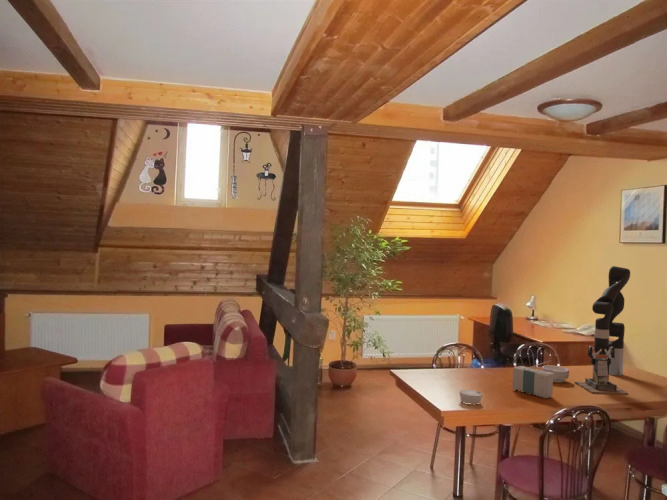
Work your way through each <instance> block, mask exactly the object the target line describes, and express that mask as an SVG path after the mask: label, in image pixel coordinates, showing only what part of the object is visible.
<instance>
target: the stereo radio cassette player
mask: <svg viewBox="0 0 667 500" xmlns="http://www.w3.org/2000/svg"><path fill="white" fill-rule="evenodd" d="M549 362H552V360H551V359H550V360H549V361H545V362H541V363H539V364H535V365H532V366H529V367H528V366H523V365H519V366H514V367H513V368H512V389H513V390H514V389H515V390H519V391H518V392H520V391H523V392H522V393H524V392H526V393H525V394H527V393H530V394H529V395H531V394H533V395H532V396H534V395H536V396H535V397H538V396H539V398H542V397H543V398H542V399H544V398H546V399H549V398H552V397H553V391H554V388H553V387H554V386H553V385H554V382H553V376H554V374H553V373H550V372H546V371H542V369H537V368H534V367H537V366H540V365H543V364H546V363H549ZM515 390H514V391H515Z"/></svg>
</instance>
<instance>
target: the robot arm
mask: <svg viewBox="0 0 667 500" xmlns="http://www.w3.org/2000/svg"><path fill="white" fill-rule="evenodd" d="M630 278H631V270H630V269H628V268H625V267H622V266H621V267H620V266H611V267H610V268H609V270H608V286H607V287H606V288H605V290H604V291H603V293H602V294H601V296H599V298H598V299H596V300H595V301H594V303H592V307H591V308H592V312H593V313H594V314H598V315H603V316H604V317H598V318H596V319H595V323H594V324H595V325H594V326H595V328H594V339H593V340H594V341H593V343H594V346H591V345H589V346H588V349H587V357H588V358H590V359H591V360H590V363H591V364H592V366H593V365H595V358H597V357H598V356H601V355H602V356H603V355H605V356H606V359H607V360H609V376H615V377H616V376H618V377H620V376H621V377H622V376H623V374H624V342H625V329H626V327H625V324H624V323H623V322H616V321H615V322H614V320H615V318H616V317H618V316H619V315H620V314H621V313H622V312H623V310H624V308H625V296H624V295H623V293H622V292H621V291H622V289H623V288H624V287H625V286H626V285H627V284H628V282H629V280H630ZM610 337H612V338H617V339H615V340H611V341H610Z"/></svg>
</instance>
